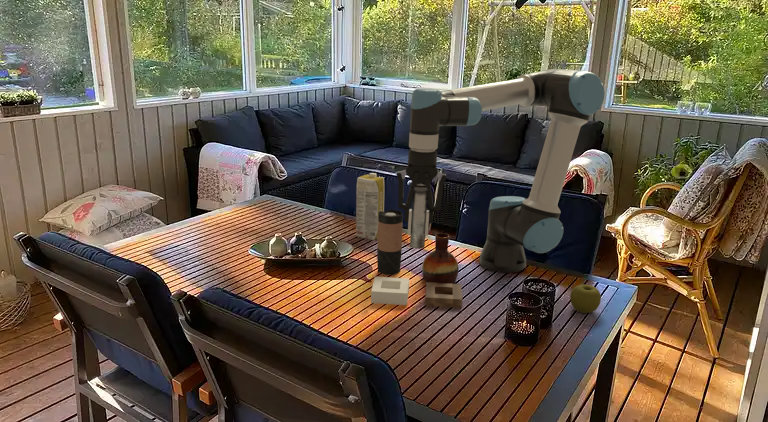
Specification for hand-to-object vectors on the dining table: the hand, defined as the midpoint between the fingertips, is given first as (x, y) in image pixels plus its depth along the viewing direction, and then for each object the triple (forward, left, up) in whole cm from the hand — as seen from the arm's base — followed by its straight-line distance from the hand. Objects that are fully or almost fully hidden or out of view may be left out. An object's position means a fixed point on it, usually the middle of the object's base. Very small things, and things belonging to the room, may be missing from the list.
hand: (417, 233), depth 153 cm
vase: (-7, -14, -21) cm, 26 cm away
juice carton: (+19, -52, -21) cm, 59 cm away
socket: (+7, 0, -20) cm, 21 cm away
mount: (-8, -1, -20) cm, 22 cm away
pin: (0, 0, -4) cm, 4 cm away
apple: (-47, -1, -21) cm, 51 cm away
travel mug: (+9, -19, -21) cm, 29 cm away
